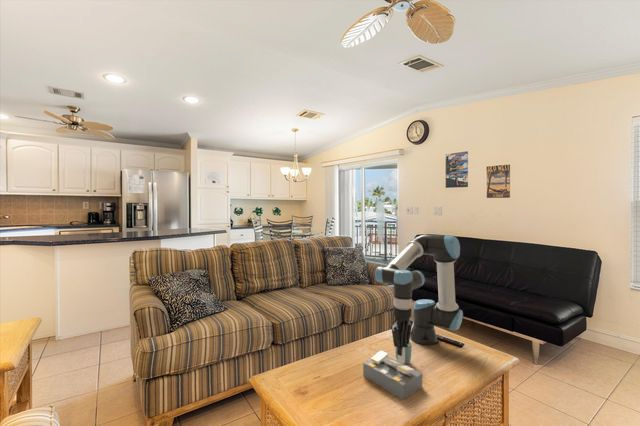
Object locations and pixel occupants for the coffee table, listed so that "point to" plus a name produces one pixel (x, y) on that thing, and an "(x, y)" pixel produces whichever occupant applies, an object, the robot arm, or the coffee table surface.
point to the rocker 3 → (405, 369)
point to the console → (392, 378)
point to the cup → (406, 353)
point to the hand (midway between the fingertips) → (401, 361)
